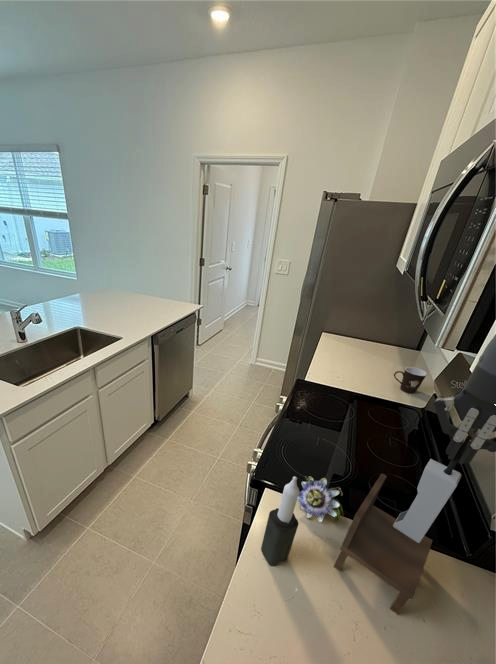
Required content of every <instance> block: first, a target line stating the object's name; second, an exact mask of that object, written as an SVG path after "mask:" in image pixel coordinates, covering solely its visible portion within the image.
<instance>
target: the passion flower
mask: <svg viewBox="0 0 496 664" xmlns="http://www.w3.org/2000/svg"><path fill="white" fill-rule="evenodd" d="M304 478H305V481H301V482H300V483H301V486H302V490H301V491H299V495H298V498H297V501H298V502H299V504H300V505H299V510H300V511H304V512H305V518H306V519H311V518H312V517H313V516H315V517H316V520H317V521H318V522H319V523H322V522H323V521H324V519H325V516H326V515H329V516H331V517H332V518H334V521H335V522H336V521H337V522H338V521H340V520H341V517H344V508H343V505H342V503H341V502H340V501H339V500H338V499H337V498H336V497H337V496H338V495H340V497H343V496H344V493H343V491H342V488H341V487H339V486H338V487H332V488H328V487H327V485H328V479H327V478H326V477H322V478H320V480H315V479H314V478H313V477H312V476H310V475H309V476H307V475H304ZM337 489H338V490H337Z"/></svg>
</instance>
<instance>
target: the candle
mask: <svg viewBox="0 0 496 664" xmlns="http://www.w3.org/2000/svg"><path fill="white" fill-rule="evenodd" d="M297 481H298V477H297V476H294V475H293V476H292V479H291V481H290V482H288V483H286V484H285V485H284V487H283V491H282V495H281V499H280V502H279V506H278V508H277V507H276V508H275V509H273V510H270V511H269V513H268V518H267V522H266V525H265V529H264V534H263V539H262V543H261V547H260V551H261V553H262V555H263V557H264V558H265V561H266V562H267V564H268V565H269V566H271V567H275V566H276V565H278V564H281V563H286V562H287V561H288V558H289V556H290V552H291V550H292V546H293V543H294V540H295V536H296V533H297V531H298V527H299V521H298V518H297V517H296V515H295V513H294V511H295V507H296V504H297V502H298V500H297V498H298V495H299V492H300V488H299V487H298V483H297Z"/></svg>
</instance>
